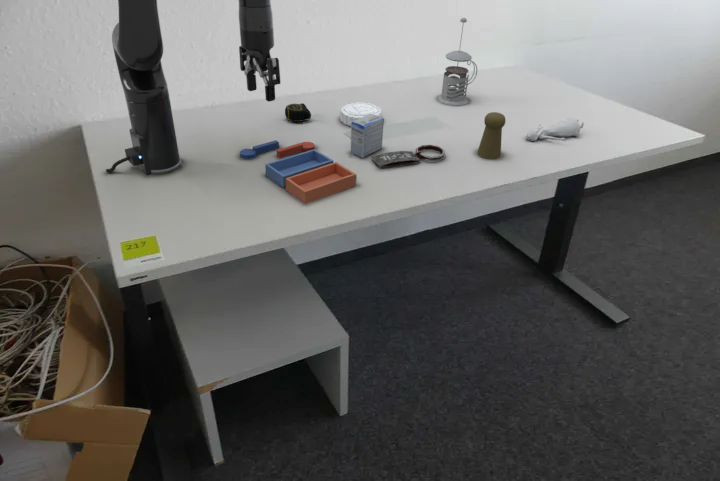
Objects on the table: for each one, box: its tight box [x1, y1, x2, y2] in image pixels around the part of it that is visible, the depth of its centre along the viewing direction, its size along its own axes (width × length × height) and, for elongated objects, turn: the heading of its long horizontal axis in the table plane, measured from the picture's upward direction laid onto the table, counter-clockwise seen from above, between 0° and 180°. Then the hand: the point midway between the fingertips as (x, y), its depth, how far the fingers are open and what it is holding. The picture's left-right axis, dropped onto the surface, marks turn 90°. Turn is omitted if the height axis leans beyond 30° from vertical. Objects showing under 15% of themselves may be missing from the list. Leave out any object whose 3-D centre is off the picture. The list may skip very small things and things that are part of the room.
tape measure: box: [284, 103, 312, 122], centre depth 159 cm, size 7×7×4 cm
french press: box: [437, 17, 478, 106], centre depth 170 cm, size 10×12×25 cm
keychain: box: [371, 144, 446, 168], centre depth 140 cm, size 8×19×2 cm, turn 111°
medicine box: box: [350, 114, 385, 159], centre depth 141 cm, size 8×4×9 cm, turn 141°
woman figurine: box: [525, 117, 585, 142], centre depth 154 cm, size 12×4×18 cm
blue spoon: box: [239, 140, 280, 160], centre depth 140 cm, size 11×4×2 cm, turn 129°
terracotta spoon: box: [276, 141, 316, 159], centre depth 141 cm, size 11×4×2 cm, turn 129°
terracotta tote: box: [285, 161, 357, 205], centre depth 126 cm, size 14×8×3 cm, turn 129°
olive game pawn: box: [476, 111, 506, 160], centre depth 141 cm, size 6×6×11 cm
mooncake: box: [339, 102, 383, 127], centre depth 160 cm, size 12×12×4 cm
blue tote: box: [264, 148, 334, 189], centre depth 131 cm, size 14×8×3 cm, turn 129°
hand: (261, 95), depth 134 cm, fingers open, 8 cm apart
